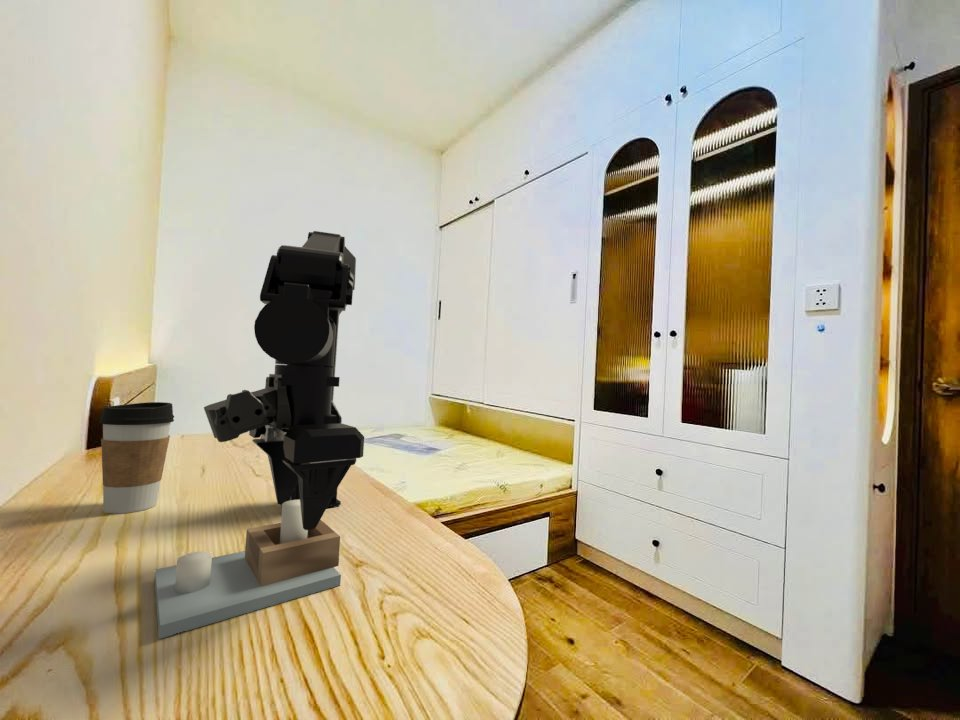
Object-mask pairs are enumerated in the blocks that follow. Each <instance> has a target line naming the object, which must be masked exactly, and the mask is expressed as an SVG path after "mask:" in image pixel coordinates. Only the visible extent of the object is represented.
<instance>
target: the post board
mask: <svg viewBox="0 0 960 720" xmlns="http://www.w3.org/2000/svg"><path fill="white" fill-rule="evenodd" d="M281 505H282V506H281V518H280V520H281V521H280V523H281V532H280V544H282V543H287V542H292V541H297V540H301V539H306V538H307V534H308V530H304V529H303V524H302V516H301V506H300V500H290V501H286V502H284V503H283V504H281ZM154 571H155V572H154V590H155V602H156V603H155V605H156V614H157V615H156V616H157V619H156V620H157V629H158V639H159V640H161V639H165V638H168V637H170V636H171V637H172V636H174V634H175V635H177V634H176V633H178V634H180V633H179V632H181V633H183V632H182V631H185V632H188V631H191V630H195V629H198V628H201V627H204V626H207V625H211V624H215V623H218V622H221V621H225V620H229V619H232V618H235V617H238V616H241V615H244V614H248V613H252V612H255V611H258V610H261V609H264V608H268V607H271V606H275V605H278V604H282V603H285V602H288V601H292V600H295V599H298V598H302V597H305V596H306V597H307V596H308V595H311V594H312V595H313V594H316V593H318V592H322V591H325V590H328V589H332V588H336V587H340V586H341V578H342V577H341V576H342V575H341V573H340V572H339V571H338V570H337V569H336V568H335V567H332V568H329V569H325V570H321V571H317V572H314V573H310V574H306V575H303V576H299V577H295V578H291V579H288V580H284V581H280V582H276V583H273V584H269V585H265V586H260V584H259V583H258V581H257V579H256V577H255V575H254V574H253V572H252V570H251V568H250V566H249V565H248V563H247V561H246V559H245V550H242V551H237V552H233V553H228V554H223V555H222V554H221V555H218V556H213V554H212V552H210V551H203V550H202V551H193V552H189V553H185V554H183V555H182V556H180V557H179V558H177V560H176V565H171V566H166V567H162V568H161V567H160V568H158V569H154Z"/></svg>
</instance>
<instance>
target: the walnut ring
mask: <svg viewBox="0 0 960 720" xmlns="http://www.w3.org/2000/svg"><path fill="white" fill-rule="evenodd" d="M280 532H281V522H276V523H270V524H266V525H261V526H255V527H250V528H247V529H246V536H245V546H244V547H245V549H244V551H245V559H246V561H247V563H248V565H249V566H250V568H251V570H252V572H253V574H254V575H255V577H256V579H257V581H258V583H259V584H260V586H265V585H269V584H273V583H276V582H280V581H284V580H288V579H291V578H295V577H299V576H303V575H306V574H310V573H314V572H317V571H321V570H325V569H329V568H332V567H334V568H335V567H339V562H340V548H341V546H340V545H341V535H340V534H338V533H337V532H336V531H334V530H333V529H332V528H331V527H330V526H329V525H328V524H326V523H325V521H323V520H321V519H320V521H319V523H318V525H317V527H316V528H314V529H310V530H308V534H307V538H306V539H301V540H297V541H292V542H287V543H282V544H280Z"/></svg>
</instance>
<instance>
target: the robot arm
mask: <svg viewBox="0 0 960 720" xmlns="http://www.w3.org/2000/svg"><path fill="white" fill-rule="evenodd" d="M345 243H346V236H342V235H341V234H338V233H332V232H324V231H319V230H318V231H317V230H314V231H312V232H310V231H308V234H307V240H306V241H305V242H304V244H303V245H302V247H301V246H296V245H294V246H293V245H285V244H284V245H283V244H282V245H280V246H279V247H278V249H277V252H276V255H275V254H272V255H271V256H270V260H269V263H268V265H267V269H266V273H265V277H264V280H263V283H262V288H261V290H260V294H259V300H260V302H261V303H263V304H264V306H263V307H262V308H261V309H260V310H259V312H258V314H257V317H256V318H255V320H254V327H253V329H254V337H255V340H256V341H257V344H258V345H259V347H260V349H261V350H262V351H263V352H264V353H265V354H266V355H268V356H269V358H272V359H274V360H275V363H274V364H275V365H274V373H269V374H268V375H269V376H266V378H265V387H264V388H261V389H258V390H256V391H255V390H254V391H249V390H247V389H242V390H241V391H240V392H237V393H233V394H231V393H229V394H227V396H226V399H224V400H220V401H218V402H215V403H211V404H207V405H205V406H204V407H203V410H204V412H205V415H206V418H207V421H208V423H209V425H210V429H211V432H212V435H213V437H214V439H216V440H217V441H218V442H219V443H225V442H228V441H229V442H230V441H232V440H235V439H237V438H239V436H240V435H243V434H245V433H248V436H250V437H251V438H253V439H252V442H253V443H254V445H256V446H257V447H258V448H259V449H260V450H262V452H264V453H265V454H266V455H267V459H268V463H269V466H270V473H271V477H272V483H273V487H274V492H275V498H276V502H277V504H278V505H282V504H283V503H284V502H286V501H290V500H300V506H301V516H302V524H303V529H304V530H310V529H314V528H316V527H317V525H318V523H319V521H320V520H321V519H322V517H323V516H324V514H325V512H326V509H327V508H329V507H330V508H331V507H336V506H341V504H342V501H340V500H339V499H338V488H339V486H340V485H341V483H342V481H343V480H344V478H345V476H346V475H347V473H348V472H349V469H350V468H351V466H353V465H356V463H357V459H360V458H362V457H364V448H365V447H364V446H365V436H364V434H362V432H360V431H359V429H358V428H357V427H356V426H353V425H352V426H351V425H349V424H345V423H342V421H343V420H342V419H343V417H342V416H341V413H340V412H339V410H338V409H337V408H338V407H336V404H335V403H334V395H335V393H334V391H335V387H338V388H339V387H340V379H341V378H340V376H336V364H337V350H338V349H337V348H338V338H339V335H338V333H339V321H340V315H341V313H342V312H346V309H347V306H352V304H353V294H354V291H355V289H356V287H355V285H356V267H357V265H356V263H357V259H356V258H357V257H355V255H354V254H353V253H352V252H351V251H350V250H349V249H348V247H346V244H345Z"/></svg>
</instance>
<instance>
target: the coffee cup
mask: <svg viewBox="0 0 960 720" xmlns="http://www.w3.org/2000/svg"><path fill="white" fill-rule="evenodd" d="M174 418H175V416H174V410H173V403H171V402H163V401H162V402H161V401H160V402H159V401H155V402H154V401H153V402H151V401H149V402H139V403H137V402H136V403H128V404H126V403H125V404H119V405H117V404H116V405H108V406H104V407H103V409H102V413H101V416H100V417H99V424H102V437H101V438H100V442H101V444H100V445H101V446H100V447H101V465H102V466H101V468H102V469H101V472H102V491H103V493H102V496H103V497H102V498H103V500H102V501H103V503H102V505H103V506H102V507H103V508H102V509H103V512H104V513H107V514H116V515H117V514H129V513H137V512H141V511H145V510H148V509H151V508H153V507H155V506H157V504H158V499H159V494H160V488H161V481H162V477H163V473H164V468H165V464H166V463H165V462H166V457H167V452H168V448H169V443H170V438H171V436H170V433H169V432H170V429H171V423H173V422H174V421H175V420H174Z"/></svg>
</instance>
